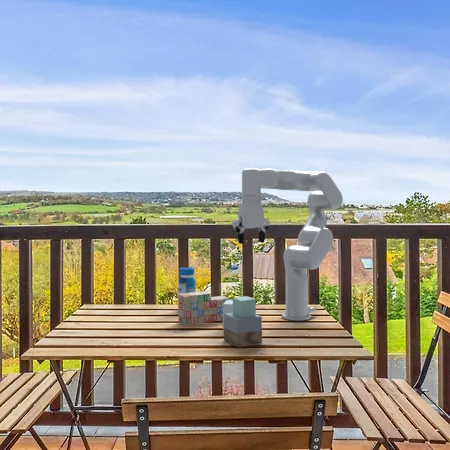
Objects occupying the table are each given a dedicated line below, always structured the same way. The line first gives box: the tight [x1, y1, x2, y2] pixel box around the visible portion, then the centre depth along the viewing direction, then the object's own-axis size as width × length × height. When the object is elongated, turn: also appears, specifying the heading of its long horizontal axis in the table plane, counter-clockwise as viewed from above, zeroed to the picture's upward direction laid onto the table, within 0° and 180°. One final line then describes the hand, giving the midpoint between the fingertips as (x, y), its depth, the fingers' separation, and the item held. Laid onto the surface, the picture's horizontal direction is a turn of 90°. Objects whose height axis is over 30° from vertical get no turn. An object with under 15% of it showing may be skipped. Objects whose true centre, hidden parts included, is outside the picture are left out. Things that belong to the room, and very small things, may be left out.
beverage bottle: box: [177, 266, 197, 302], centre depth 214 cm, size 8×8×20 cm
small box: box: [222, 299, 233, 331], centre depth 185 cm, size 8×6×10 cm
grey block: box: [224, 313, 263, 334], centre depth 166 cm, size 10×10×5 cm
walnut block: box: [223, 327, 263, 348], centre depth 166 cm, size 10×10×5 cm
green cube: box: [232, 295, 257, 318], centre depth 166 cm, size 6×6×6 cm
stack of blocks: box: [177, 290, 230, 326], centre depth 196 cm, size 21×6×12 cm, turn 119°
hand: (251, 242), depth 183 cm, fingers open, 9 cm apart
